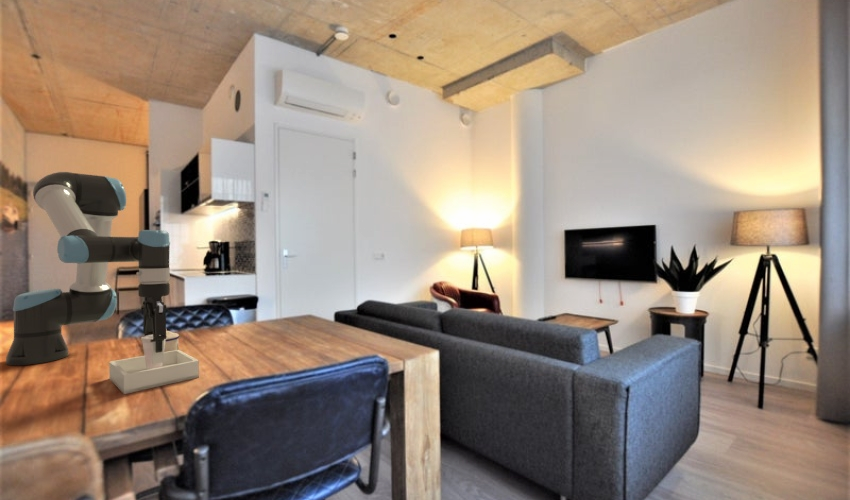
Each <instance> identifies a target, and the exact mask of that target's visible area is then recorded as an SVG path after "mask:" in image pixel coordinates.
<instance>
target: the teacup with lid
mask: <svg viewBox="0 0 850 500" xmlns="http://www.w3.org/2000/svg"><path fill="white" fill-rule="evenodd" d="M166 335H167V339H166V341H165V348H164V352H168V351H174V350H179V339H180V335H179V333H176V332H172V331H170V330H167V328H166Z"/></svg>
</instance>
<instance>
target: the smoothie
mask: <svg viewBox="0 0 850 500" xmlns="http://www.w3.org/2000/svg"><path fill="white" fill-rule="evenodd" d="M159 336H161V335H159ZM166 336H167V335H166ZM166 339H167V337H166ZM166 339H164V348H165V341H166ZM150 340H153V334H152V335H146V336H145V335H143V336H141V338H140V342H142V348H143V356H145V363H146V369H147V370H149V369H154V368H159V367H162V363H157V364H152V342H150Z"/></svg>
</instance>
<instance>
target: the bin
mask: <svg viewBox="0 0 850 500" xmlns="http://www.w3.org/2000/svg"><path fill="white" fill-rule="evenodd" d="M108 363H109V365H108V367H109V369H108V370H109V372H108V373H109V374H108V375H109V376H108V377H109V378H108V379H109V380H110V381H111V382H112V383H113V384H114V385H115V387H117V389H118V390H119V391H120V392H121V393H122V394H123V395H126V394H131V393H135V392H139V391H145V390H149V389H154V388H158V387H162V386H163V387H164V386H167V385H172V384H175V383H180V382H185V381H189V380H190V381H191V380H194V379H197V378H198V379H199V378H200V361H199V360H198V359H197V358H195V357H193V356H191V355H190V354H187V353H186V352H184V351H182V350H180V349H178V350H174V351H168V352H164V362H163V363H162V367H159V368H154V369H149V370H147V369H146V363H145V356H144V355H141V356H140V355H139V356H134V357H129V358H123V359H117V360H112V361H108Z"/></svg>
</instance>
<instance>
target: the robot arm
mask: <svg viewBox="0 0 850 500" xmlns="http://www.w3.org/2000/svg"><path fill="white" fill-rule="evenodd" d="M32 195H33V199H34V201H35V203H36V204H37V206H38V207H39V208H40V209H42V210H44V211H45V212H46V215H48V217H49V219H50V221H51V223H52V224H53V226H54V228H55V230H56V231H57V233H58V234H59V236H60V238H59V239H58V241H57V250H56V251H57V254H58V258H59V260H60V261H61V262H63V264H64V263H65V264H77V265H76V272H75V273H76V276H75V281H74V282H73V283H72V284H70V285H69V291H67V292H66V291H64V292H63V291H62V289H61V288H50V289H49V288H48V289H40V290H34V291H33V290H32V291H29V292H24V293H21V294H18V295H16V297H14V301H13V308H12V311H13V340H12V342H11V346H10V348H9V350H8V353H7V354H6V357H5V364H6V365H8V366H27V365H38V364H43V363H48V362H53V361H58V360H61V359H64V358H66V357H68V356H69V348H68V345H67V343H66V340H65V339H64V336H63V334H62V332H63V331H62V328H63V327H62V326H68V325H75V324H84V323H85V324H86V323H94V322H95V323H96V322H99V321H106V320H108V319H110V318H111V317H112V316H113V314H114V313H115V310H116V307H117V302H118V301H117V300H118V299H117V292H116V291H115V289H113V288H112V286H111V284H109V283H108V282H107V277H108V267H109V263H138V271H137V272H136V276H138V282H139V284H138V296H139V297H141V298H146V300H145V301H144V300H143V301H142V307H143V317H142V318H143V321H142V322H143V323H142V325H143V327H142V333H143V334H144V336H146V335H152V334H153V340H150V342H152V364H157V363H163V362H164V339H166V337H167V336H166V329H167V318H166V317H167V312H166V311H167V305H166V304H165V303H164V302H163V298H162V297H166V296H169V295H170V283H169V281H170V279H171V278H170V277H171V276H170V274H171V273H170V272H171V271H170V270H171V269H170V245H171V241H170V234H169V232H168V231H167V230H155V229H154V230H153V229H143V230H140V231H139V232H138V236H111V234H112V224H113V220H114V219H115V218H117V217H119V216H118V215H119V212H120V211H124V210H125V209H126V206H127V193H126V191H125V187H124V185H123V183H122V182H121V180H119V179H117V178H113V177H109V176H106V175H96V174H85V173H76V172H69V171H58V172H53V173H50V174H47V175H45V176H43V177H42V178H40V179H39V180H38V181H37V182H36V184H35V186H34V187H33V190H32ZM159 335H161V336H159Z"/></svg>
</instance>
